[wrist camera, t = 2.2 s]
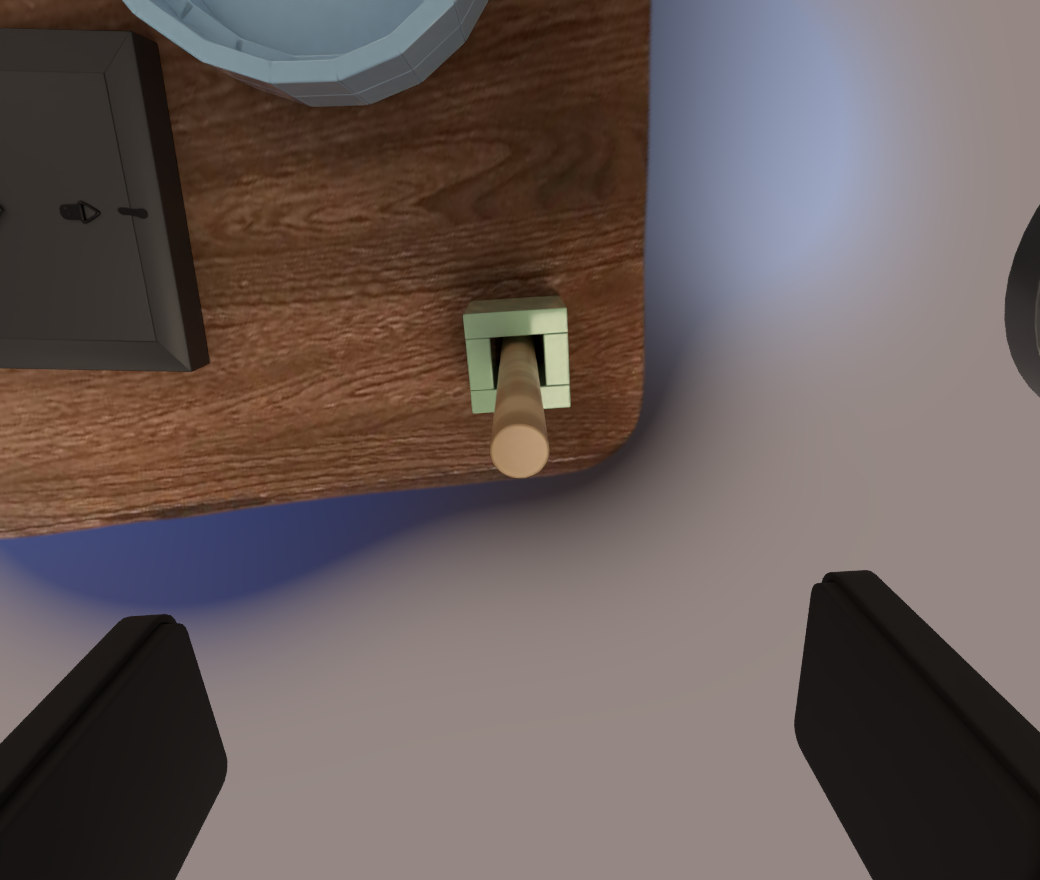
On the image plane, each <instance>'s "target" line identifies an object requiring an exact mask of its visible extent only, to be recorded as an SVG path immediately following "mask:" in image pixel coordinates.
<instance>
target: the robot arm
mask: <svg viewBox="0 0 1040 880" xmlns="http://www.w3.org/2000/svg"><path fill="white" fill-rule="evenodd" d="M794 726H795V734H796V738H797V741H798V744H799V747H800V749H801V751H802V753H803V755H804V756H805V758H806V760H807V762H808V763H809V765H810V767H811V769H812V771H813V772H814V774H815V776H816V778H817V780H818V782H819V783H820V785H821V787H822V789H823V791H824V792H825V794H826V796H827V798H828V800H829V802H830V803H831V805H832V807H833V809H834V810H835V812H836V814H837V816H838V818H839V820H840V821H841V823H842V825H843V827H844V828H845V830H846V832H847V834H848V836H849V838H850V839H851V841H852V843H853V845H854V847H855V849H856V850H857V852H858V854H859V856H860V858H861V859H862V861H863V863H864V865H865V867H866V868H867V870H868V872H869V874H870V876H871V878H872V879H873V880H1040V732H1039V731H1038V730H1037V729H1036V728H1035V727H1034V726H1033V725H1031V724H1030V722H1028V721H1027V720H1026V719H1025V718H1024V717H1023V716H1022V715H1021V714H1020V713H1019V712H1018V711H1017V710H1016V709H1015V708H1014V707H1013V706H1012V705H1011V704H1010V703H1009V702H1008V701H1007V700H1006V699H1005V698H1004V697H1003V696H1001V695H1000V694H999V693H998V692H997V691H996V690H995V689H994V688H993V687H992V686H991V685H990V684H989V683H988V682H987V681H986V680H985V679H984V678H983V677H982V676H981V675H980V674H978V673H977V671H976V670H974V669H973V668H972V667H971V666H970V665H969V664H968V663H967V662H966V661H965V660H964V659H963V658H962V657H961V656H960V655H959V654H958V653H957V652H956V651H955V650H954V649H953V648H951V646H949V645H948V644H947V643H946V642H945V641H944V640H943V639H942V638H941V637H940V636H939V635H938V634H937V633H936V632H935V631H934V630H933V629H932V628H931V627H930V626H929V625H928V624H927V623H926V622H925V621H924V620H923V619H921V618H920V617H919V616H918V615H917V614H916V613H915V612H914V611H913V610H912V609H911V608H910V607H909V606H908V605H907V604H906V603H905V602H904V601H903V600H902V599H901V598H900V597H899V596H898V595H897V594H895V593H894V592H893V591H892V590H891V589H890V588H889V587H888V586H887V585H886V584H885V583H884V582H883V581H882V580H881V579H880V578H879V577H878V576H877V575H875V574H874V573H873V572H871V571H868V570H861V571H844V572H830V573H827V574H826V575H825V576H824V578H823V580H822V583H817V584H815V585H814V586H813V588H812V592H811V598H810V605H809V613H808V621H807V628H806V636H805V644H804V652H803V659H802V666H801V674H800V682H799V690H798V698H797V706H796V713H795V720H794ZM226 773H227V757H226V753H225V750H224V747H223V743H222V740H221V737H220V734H219V731H218V727H217V724H216V721H215V718H214V715H213V711H212V708H211V705H210V702H209V699H208V695H207V692H206V689H205V686H204V682H203V680H202V677H201V673H200V670H199V667H198V663H197V660H196V657H195V654H194V651H193V647H192V644H191V641H190V638H189V634H188V632H187V630H186V627H185V626H184V625H183V624H179V623H176V621H175V619H174V618H173V617H172V616H171V615H166V614H162V615H145V616H131V617H126V618H123V619H122V620H121V621H119V622H118V623H117V624H116V625H115V626H114V627H113V628H112V630H110V631H109V632H108V633H107V634H106V636H105V637H104V638H103V639H102V640H101V641H100V642H99V643H98V644H97V645H96V646H95V647H94V648H93V649H92V650H91V651H90V652H89V653H88V654H87V655H86V656H85V657H84V658H83V659H82V660H81V661H80V662H79V663H78V664H77V666H75V667H74V669H73V670H72V671H71V672H70V673H69V674H68V675H67V676H66V677H65V678H64V679H63V680H62V681H61V682H60V683H59V684H58V685H57V686H56V687H55V688H54V689H53V690H52V691H51V692H50V693H49V694H48V695H47V696H46V697H45V698H44V699H43V700H42V701H41V702H40V703H39V704H38V706H37V707H36V708H35V709H34V710H33V711H32V712H31V713H30V714H29V715H28V716H27V717H26V718H25V719H24V720H23V721H22V722H21V723H20V724H19V725H18V726H17V727H16V728H15V729H14V730H13V731H12V732H11V733H10V734H9V735H8V736H7V737H6V739H5V740H4V741H3V742H2V743H1V744H0V880H175V879H176V877H177V875H178V873H179V871H180V869H181V867H182V865H183V863H184V861H185V859H186V857H187V855H188V853H189V851H190V849H191V847H192V845H193V843H194V841H195V839H196V837H197V835H198V833H199V831H200V829H201V827H202V825H203V823H204V821H205V819H206V818H207V815H208V813H209V811H210V809H211V808H212V806H213V804H214V802H215V800H216V798H217V796H218V794H219V792H220V790H221V788H222V786H223V783H224V781H225V777H226Z"/></svg>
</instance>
